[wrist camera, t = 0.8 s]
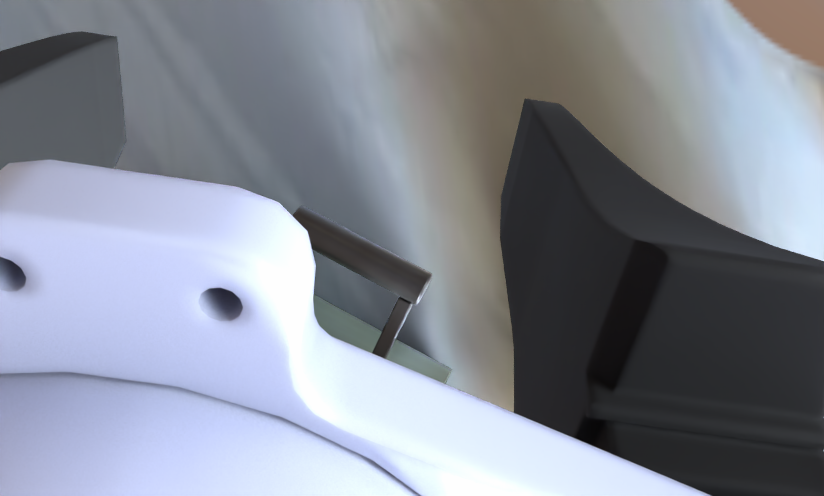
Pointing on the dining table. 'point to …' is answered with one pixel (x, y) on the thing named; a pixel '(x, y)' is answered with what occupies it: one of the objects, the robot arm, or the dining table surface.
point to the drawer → (384, 273)
